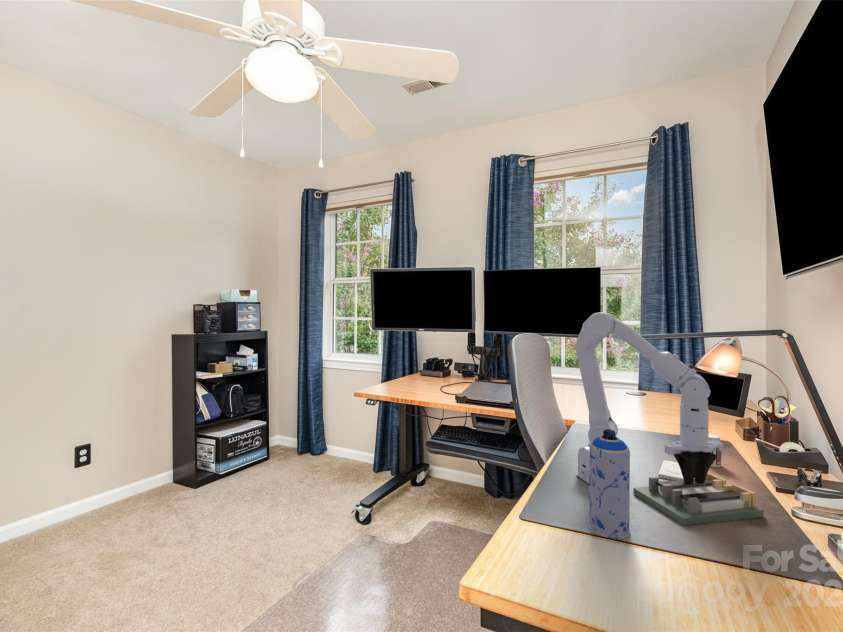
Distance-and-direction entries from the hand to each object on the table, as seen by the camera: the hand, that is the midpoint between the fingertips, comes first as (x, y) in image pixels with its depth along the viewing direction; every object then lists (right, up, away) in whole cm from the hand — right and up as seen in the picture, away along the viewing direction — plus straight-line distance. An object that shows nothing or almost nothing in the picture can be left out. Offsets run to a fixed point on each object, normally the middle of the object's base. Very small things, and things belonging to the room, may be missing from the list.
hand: (693, 482), depth 98 cm
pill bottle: (+19, -4, +21) cm, 29 cm away
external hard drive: (+5, -4, +14) cm, 16 cm away
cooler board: (-2, -4, -4) cm, 6 cm away
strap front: (-1, -1, -7) cm, 7 cm away
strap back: (-2, -1, 0) cm, 2 cm away
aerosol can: (-27, -4, -14) cm, 31 cm away
